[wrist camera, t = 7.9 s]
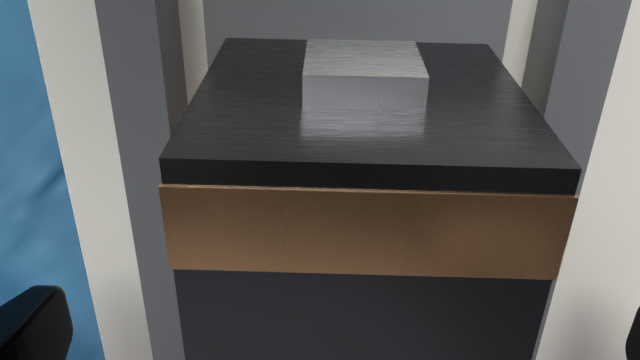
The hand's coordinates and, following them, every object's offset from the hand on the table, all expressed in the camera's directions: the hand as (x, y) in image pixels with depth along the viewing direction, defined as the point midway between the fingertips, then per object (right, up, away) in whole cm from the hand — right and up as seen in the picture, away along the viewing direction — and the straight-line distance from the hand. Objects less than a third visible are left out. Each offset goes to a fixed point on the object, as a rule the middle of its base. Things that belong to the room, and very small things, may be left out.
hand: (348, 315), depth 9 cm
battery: (0, +1, +2) cm, 2 cm away
